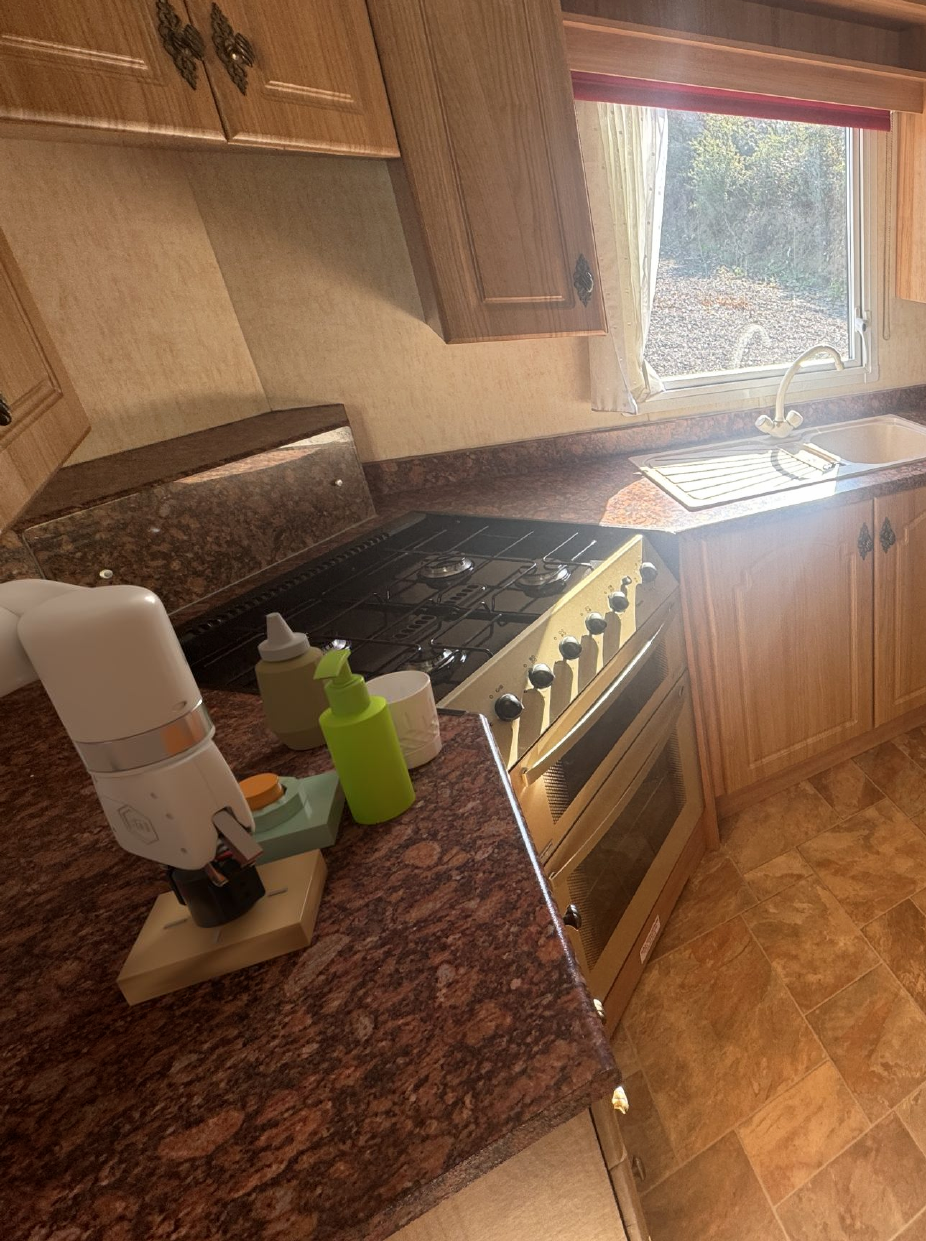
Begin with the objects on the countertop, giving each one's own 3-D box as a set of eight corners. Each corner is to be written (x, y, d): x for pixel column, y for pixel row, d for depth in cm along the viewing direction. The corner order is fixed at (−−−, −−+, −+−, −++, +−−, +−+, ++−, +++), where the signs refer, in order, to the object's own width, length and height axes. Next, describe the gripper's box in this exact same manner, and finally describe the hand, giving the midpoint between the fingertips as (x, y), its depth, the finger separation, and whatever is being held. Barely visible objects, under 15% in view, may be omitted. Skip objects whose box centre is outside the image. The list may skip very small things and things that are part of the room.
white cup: (431, 772, 88) (411, 703, 84) (360, 778, 87) (336, 708, 83) (458, 733, 95) (440, 668, 92) (393, 738, 94) (372, 672, 90)
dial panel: (129, 1006, 60) (114, 980, 59) (170, 918, 68) (158, 893, 67) (309, 945, 66) (299, 920, 65) (328, 870, 74) (319, 846, 73)
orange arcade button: (230, 819, 74) (223, 803, 73) (240, 795, 77) (234, 780, 77) (279, 806, 76) (273, 790, 75) (287, 783, 79) (282, 768, 78)
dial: (187, 935, 63) (162, 886, 61) (203, 899, 67) (180, 851, 65) (252, 915, 65) (230, 866, 63) (264, 881, 69) (244, 834, 67)
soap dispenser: (344, 837, 78) (286, 679, 71) (360, 796, 84) (308, 646, 77) (408, 822, 80) (358, 667, 73) (419, 783, 86) (374, 636, 79)
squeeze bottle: (364, 714, 99) (326, 596, 92) (341, 750, 92) (298, 625, 85) (293, 725, 96) (248, 604, 90) (264, 762, 89) (213, 634, 83)
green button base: (184, 888, 72) (165, 849, 70) (214, 824, 80) (198, 787, 78) (334, 844, 77) (320, 807, 75) (348, 789, 85) (336, 754, 83)
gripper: (15, 742, 58) (108, 911, 64) (165, 783, 53) (247, 958, 60) (132, 692, 64) (205, 850, 71) (273, 725, 60) (336, 889, 67)
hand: (223, 898), depth 66 cm, fingers closed on dial, 4 cm apart
